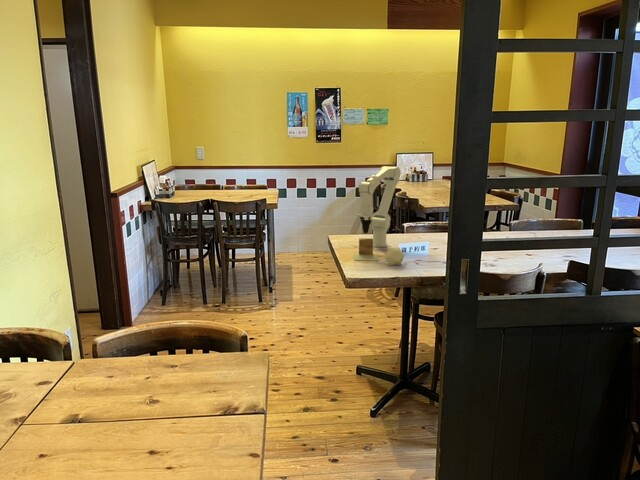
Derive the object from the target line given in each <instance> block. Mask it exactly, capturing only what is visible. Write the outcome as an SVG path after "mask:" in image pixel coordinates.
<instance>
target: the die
mask: <svg viewBox="0 0 640 480" xmlns="http://www.w3.org/2000/svg"><path fill="white" fill-rule="evenodd" d="M384 258H385V260H386V261H387V263H388V264H389V265H390V266H399V265H402V262H403V260H404V258H405V254H404V252H403V251H402V250H401V248H400V247H388V249H387V251H386V254H385V256H384Z"/></svg>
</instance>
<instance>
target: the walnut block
mask: <svg viewBox="0 0 640 480" xmlns="http://www.w3.org/2000/svg"><path fill="white" fill-rule="evenodd" d="M373 253H374V247H373V238H358V255H374V254H373Z"/></svg>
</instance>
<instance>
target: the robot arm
mask: <svg viewBox="0 0 640 480" xmlns="http://www.w3.org/2000/svg"><path fill="white" fill-rule="evenodd" d="M401 174H402V173H401V168H400V167H399V166H385V165H384V166H382V167H380V169H379V172H378V173H377V174H376V175H371V176H370V177H369V178H368V179H367V180H366V181H361V182H360V183H359V186H358V192H359V196H360V210H359V211H360V212H359V213H357V216H359V218H360V219H359V220H360V222H361V227H362V232H363V234H368V233H369V230H370V228H371V230H372V239H373V248H374V247H376V248H381V247H382V248H385V247H388V242H387V230H388V229H390V225H391V220H392V219H391V215H389V213H388V212H389V209H390V206H391V203H392V199H393V196H394V193H395V190H396V187H397V185H398V184H399V181H400V178H401ZM381 181H382V182H383V183H384V184H385V187H384V191H383V194H382V197H381V201H380V204H379V208H378V210H377V211H376V212H374V213H373V214H372V210H373V207H372V205H373V194H374V192H375V190H376V188H377V187H378V186H379V185H380V184H381Z"/></svg>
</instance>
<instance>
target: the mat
mask: <svg viewBox="0 0 640 480" xmlns="http://www.w3.org/2000/svg"><path fill="white" fill-rule="evenodd" d="M353 260H354V262H356V261H358V262H359V261H364V262H365V261H367V262H368V261H369V262H373V261H375V262H376V261H377V262H379V261H380V260H379V255H378V254H377V255H376V254H373V255H359V254H354V255H353Z"/></svg>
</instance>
